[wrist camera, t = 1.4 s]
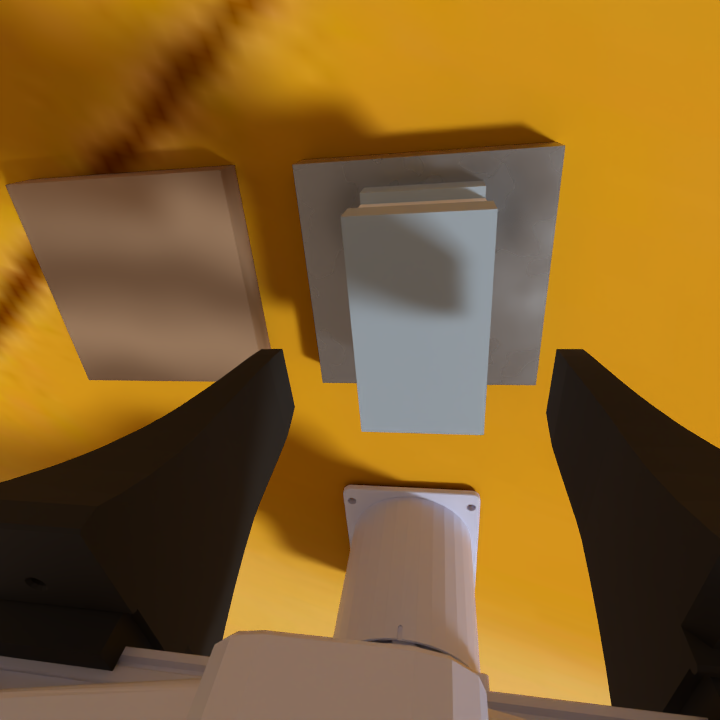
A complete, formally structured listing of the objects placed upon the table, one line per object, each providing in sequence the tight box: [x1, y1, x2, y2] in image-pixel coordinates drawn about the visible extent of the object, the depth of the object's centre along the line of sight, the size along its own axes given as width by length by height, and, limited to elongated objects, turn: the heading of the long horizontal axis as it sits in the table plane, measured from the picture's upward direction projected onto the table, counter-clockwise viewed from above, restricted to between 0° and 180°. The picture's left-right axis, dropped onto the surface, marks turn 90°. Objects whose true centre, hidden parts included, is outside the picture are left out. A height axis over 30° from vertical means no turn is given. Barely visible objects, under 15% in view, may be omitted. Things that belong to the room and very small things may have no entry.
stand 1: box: [6, 165, 271, 381], centre depth 22 cm, size 10×10×2 cm
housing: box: [341, 180, 498, 435], centre depth 17 cm, size 8×4×5 cm, turn 5°
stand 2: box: [292, 142, 565, 385], centre depth 20 cm, size 10×10×2 cm
